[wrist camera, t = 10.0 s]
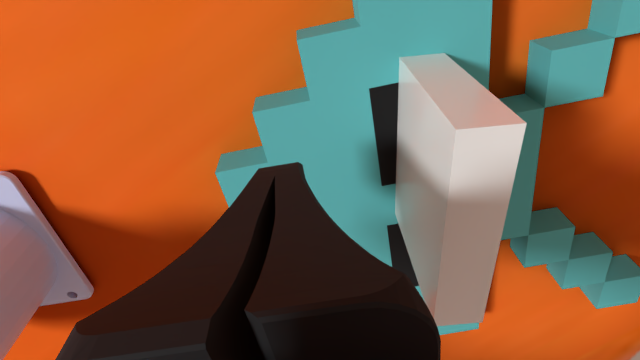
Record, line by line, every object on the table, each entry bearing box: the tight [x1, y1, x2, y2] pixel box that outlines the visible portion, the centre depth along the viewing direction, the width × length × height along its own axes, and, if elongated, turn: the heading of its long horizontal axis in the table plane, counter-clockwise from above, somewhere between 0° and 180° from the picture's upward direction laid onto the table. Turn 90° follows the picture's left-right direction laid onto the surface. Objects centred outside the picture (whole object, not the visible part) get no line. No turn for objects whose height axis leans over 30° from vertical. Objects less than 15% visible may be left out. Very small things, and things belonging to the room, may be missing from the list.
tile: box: [395, 53, 527, 326], centre depth 13 cm, size 2×7×6 cm, turn 5°
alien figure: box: [215, 0, 640, 335], centre depth 18 cm, size 20×2×20 cm
